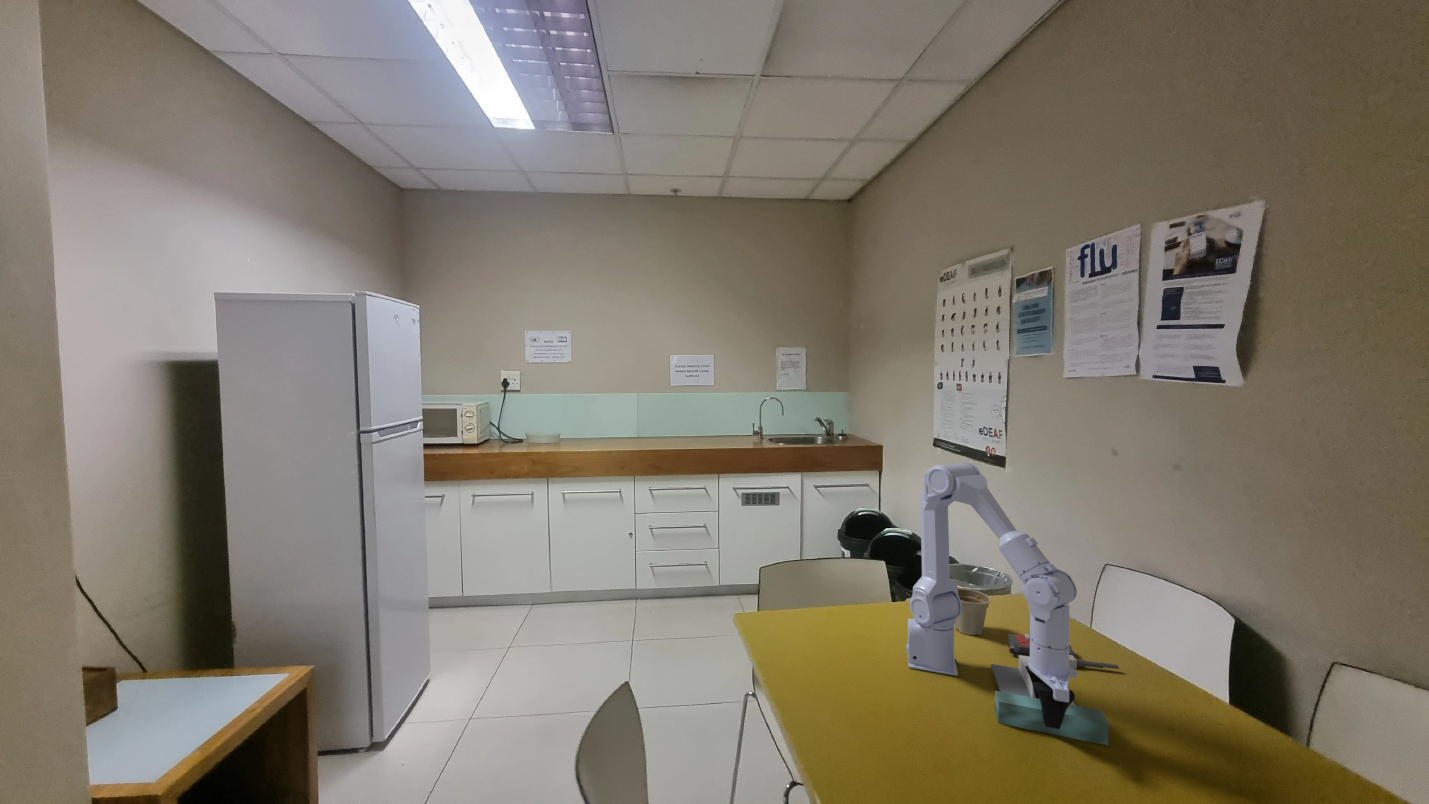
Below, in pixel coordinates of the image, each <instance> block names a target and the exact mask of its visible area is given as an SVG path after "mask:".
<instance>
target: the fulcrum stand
mask: <svg viewBox="0 0 1429 804" xmlns="http://www.w3.org/2000/svg"><path fill="white" fill-rule="evenodd" d="M1029 659H1030V657H1028V656H1022V655H1019V657H1018V667H1015V666H1014V667H1012V666H1008V665H1007V666H1006V665H1001V664H1000V665H999V664H994V663H991V665H990V669H991V672H992V675H993V678H994V680H995V683H996V686H997V689H998V691H999V692H1005V693H1010V694H1016V695H1021V696H1027V697H1032V698H1035V693H1034V689H1033V685H1032V682H1031V679H1030V676H1029V674H1028V672H1027V670H1026V668H1025V667H1026V666H1028V661H1029ZM1071 705H1076V704H1075V702H1074V701H1073V702H1072V703H1071Z"/></svg>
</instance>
